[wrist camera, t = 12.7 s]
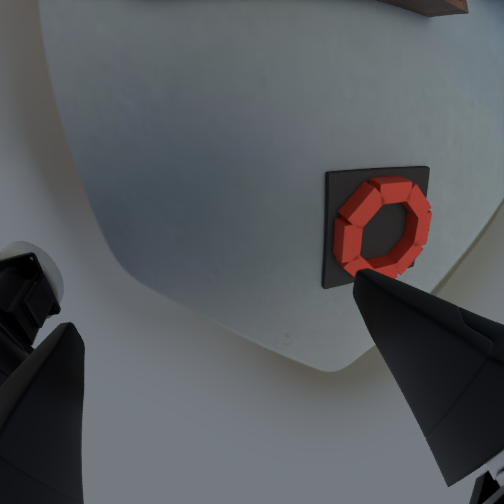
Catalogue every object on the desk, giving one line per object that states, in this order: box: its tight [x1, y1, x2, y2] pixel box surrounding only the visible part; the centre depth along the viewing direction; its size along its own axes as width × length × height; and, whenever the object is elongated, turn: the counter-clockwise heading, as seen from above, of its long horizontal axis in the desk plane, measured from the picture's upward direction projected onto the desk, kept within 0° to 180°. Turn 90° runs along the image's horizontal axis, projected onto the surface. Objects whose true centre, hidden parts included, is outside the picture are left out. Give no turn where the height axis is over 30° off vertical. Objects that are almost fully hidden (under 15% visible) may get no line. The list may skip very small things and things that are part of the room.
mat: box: [322, 166, 430, 289], centre depth 23 cm, size 10×10×1 cm
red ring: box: [333, 176, 432, 278], centre depth 22 cm, size 9×9×2 cm
